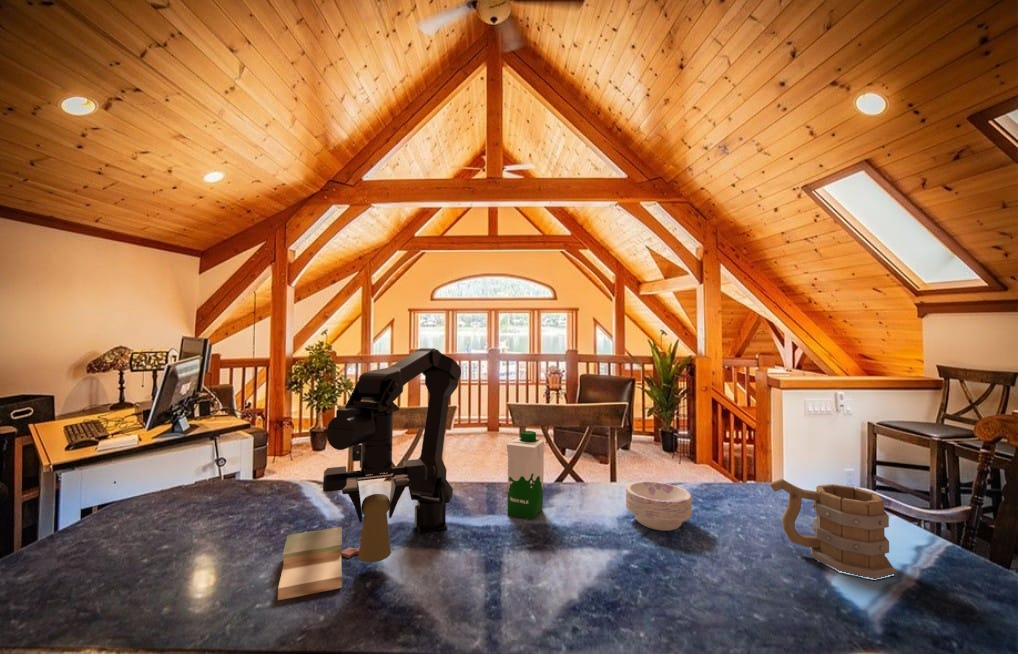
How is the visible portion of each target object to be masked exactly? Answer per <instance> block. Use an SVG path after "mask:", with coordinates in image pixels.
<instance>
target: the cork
mask: <svg viewBox="0 0 1018 654" xmlns="http://www.w3.org/2000/svg"><path fill="white" fill-rule="evenodd" d="M389 507H390V497H388V496H387V495H386V494H384V493H374V494H370V495H368V496H366V497H365V498H364V499H363V500H362V502H361V509H362V515H363V521H362V531H361V535H360V543H359V547H358V548H359V554H357V555H358V556H357V558H358V559H359V561H361V562H365V563H377V562H378V563H379V562H380V561H383V560H385V559H387V558H388V557H390V555H391V554H392V549H391V547H392V546H391V539H390V531H389V522H388V515H387V513H389Z"/></svg>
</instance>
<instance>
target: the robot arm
mask: <svg viewBox="0 0 1018 654" xmlns="http://www.w3.org/2000/svg"><path fill="white" fill-rule="evenodd" d="M461 368H462V367H461V366H460V365H459V364H458V362H457V361H456V360H455V359H453V358H452V357H450V356H447V355H445V354H443V353H442V352H441V351H440V350H439V349H436V348H430V347H426V348H425V347H421V348H419V349H416V350H415V352H413V353H412V354H410V355H408V356H406V357H405V358H402V359H401V360H399V361H398V362H396V363H394V364H392V365H391V366H389V367H386V368H385V367H384V368H377V369H373V370H368V371H365V372H363V373H362V374H361V375H359V377H358V381H357V382H356V384H355V386H354V388H353V389H352V391H351V393H350V396H349V397H348V399H347V402H346V403H345V406H344V408H339V409H337V410H336V412H335V413H336V414H335V415H336V416H335V417H333V418H332V419H331V420H330V421H329V422H328V425H327V428H326V430H325V435H326V439H327V441H328V444H329V445H330V446H331V447H332V448H333V449H334V450H337V451H344V450H346V449H350V448H351V462H354V463H355V462H359V468H360V470H350V471H347V466H345V465H344V466H335V467H334V466H333V467H327V468H326V469H325V470H324V471H323V482H322V485H323V486H322V491H323V492H324V493H328V492H338V491H341V494H342V495H348V497H349V499H350V500H351V502H352V504H353V507H354V509H355V512H356V515H357V519H358V522H359V523H363V512H362V502H361V494H360V487H359V486H360V485H359V482H362V481H364V482H365V481H373V480H380V479H382V480H383V479H391V481H390V482H391V485H390V486H391V487H390V493H389V494H390V495H389V501H390V507H389V510H388V519H391V518H392V517H393V515H394V512H395V510H396V507H397V504H398V502H399V500H400V498H401V496H402V494H403V493H404V491H405V489H406V488H408V491H409V492H408V493H409V495H410V500H411V501H417V503H416V505H415V506H414V525H415V527H416V528H417V529H418V532H419V533H420V534H421V533H422V534H423V533H428V532H434V531H439V530H440V531H441V530H447V529H448V524H447V522H446V521H447V519H446V518H447V517H446V514H447V513H446V512H447V509H446V508H447V506H446V505H447V504H449V503H450V502H451V499H452V498H453V492H454V489H453V487H452V485H451V484H450V483H449V482H448V480H447V473H448V472H447V468H446V465H445V463H444V461H443V449H444V441H445V435H446V434H445V433H446V427H447V421H448V420H447V419H448V411H449V405H450V397H451V396H452V395H453V393H455V391H456V390H457V388H458V386H459V382H460V378H461V375H462V369H461ZM421 374H422V375H423V376H424V384H425V386H426V389H427V392H428V394H429V396H428V402H427V403H428V404H427V411H426V418H425V423H424V424H425V425H424V430H423V431H424V433H423V437H422V438H423V439H422V445H421V452H420V456H419V458H417V459H406V460H403V461H402V462H403V464H402V465H401V466H393V430H394V423H393V421H394V420H393V419H394V413H395V412H399V410H400V407H399V405H397V404H396V403H395V402H394V401H396V399H398V398H399V396H401V394H403V392H404V386H405V385H406V384H408V383H409V382H410V381H413V379H415V378H416V377H417V376H419V375H421Z"/></svg>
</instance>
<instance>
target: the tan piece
mask: <svg viewBox="0 0 1018 654" xmlns="http://www.w3.org/2000/svg"><path fill="white" fill-rule="evenodd" d="M342 529H343V528H342V526H339V527H333V528H326V529H319V530H313V531H306V532H299V533H294V534H287V538H286V541H285V544H284V548H283V553H282V559H283V566H282V570H281V574H280V575H281V576H280V579H279V583H278V588H277V601H282V600H287V599H292V598H297V597H302V596H306V595H307V596H308V595H311V594H317V593H322V592H327V591H333V590H336V589H337V590H338V589H342V585H343V583H342V582H343V581H342V580H343V573H342V567H343V566H342V557H345V558H347V559H351V558H352V557H354V556H355V555H359V548H360V547H357V548H354V547H350V546H349V547H347V548H345V549H344V550H342V549H343V532H342V531H343V530H342Z"/></svg>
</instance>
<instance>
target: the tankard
mask: <svg viewBox="0 0 1018 654" xmlns="http://www.w3.org/2000/svg"><path fill="white" fill-rule="evenodd" d="M769 485H770V488H771V489H772V490H773V492H778V491H781V490H784V491H785V492H787V493H788V494H789V496H788V505H787V507H786V510H785V512H783V516H782V528H783V530H784V533H785V534H786V536H787V537H788V539H789V541H790V543H793V544H796V545H800V546H801V547H807V548H809V551H810V550H811V551H810V553H811V555H813V556H812V559H813V558H814V559H817V560H819V561H822V562H823V563H826V564H828V565H830V566H832V567H834V568H836V569H837V570H839V571H842V572H846V573H850V574H854V575H858V576H863V577H869V578H873V579H877V578H881V577H885V576H888V575H892V574H895V575H896V573H895V571H896V570H895V568H894V567H893V565H892V563H891V562H890V561H889V559H888V558H887V556H886V554H889V553H890V540H888V538H887V537H886V535H885V534H886V533H885V532H886V531H885V528H889V527H890V524H889V523H890V521H889V520H890V517H889V516H890V515H888V513H887V512H886V511H885V501H884V500H883V499H882V498H881V496H879V495H878V494H876V493H874V492H871V491H869V490H865V489H861V488H859V487H853V486H848V485H847V486H846V485H843V484H841V485H840V484H834V483H833V484H831V483H830V484H829V483H828V484H822V485H817V486H816V490H810V489H809V490H808V489H803V488H800V487H798V486H797V485H794V484H792V483H790V482H788V481H787V480H785V479H784V478H779V479H777V480H774V481H772V482H770V483H769ZM803 499H805V500H810V501H812V508H813V510H814V512H815V513H816V518H814V519H813V520H812V521H813V524H812V525H813V527H812V528H813V532H814V534H815V535H803V534H801V533H799V532H797V529H796V526H795V525H796V523H795V522H796V520H797V518H798V516H799V514H800V512H801V508H802V500H803ZM814 559H813V560H814Z"/></svg>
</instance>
